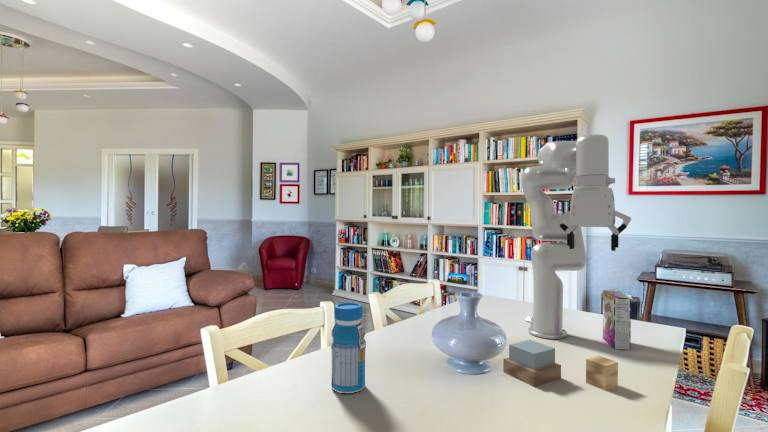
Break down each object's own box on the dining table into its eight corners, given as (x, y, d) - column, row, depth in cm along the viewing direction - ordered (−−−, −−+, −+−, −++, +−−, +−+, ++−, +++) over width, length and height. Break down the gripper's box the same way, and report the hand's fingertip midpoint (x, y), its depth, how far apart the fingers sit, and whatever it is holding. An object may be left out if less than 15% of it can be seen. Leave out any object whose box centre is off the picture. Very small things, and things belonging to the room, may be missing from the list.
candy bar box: (601, 338, 135) (602, 289, 135) (617, 339, 134) (618, 290, 134) (613, 350, 124) (614, 297, 124) (631, 351, 123) (632, 297, 123)
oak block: (585, 382, 101) (586, 359, 101) (598, 378, 103) (598, 355, 103) (605, 390, 97) (605, 366, 96) (617, 386, 99) (617, 362, 99)
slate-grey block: (509, 359, 107) (509, 344, 107) (529, 354, 111) (529, 339, 111) (534, 369, 100) (534, 353, 100) (555, 363, 104) (555, 348, 104)
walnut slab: (503, 373, 107) (503, 358, 107) (529, 366, 112) (530, 352, 112) (533, 388, 98) (533, 372, 98) (560, 380, 103) (561, 365, 103)
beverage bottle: (338, 398, 92) (338, 311, 92) (325, 384, 99) (326, 303, 99) (371, 390, 96) (371, 307, 95) (357, 377, 103) (357, 299, 103)
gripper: (632, 183, 103) (632, 250, 102) (559, 186, 113) (559, 247, 112) (630, 180, 96) (630, 252, 96) (553, 184, 106) (553, 249, 106)
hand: (592, 249), depth 104 cm, fingers open, 9 cm apart
